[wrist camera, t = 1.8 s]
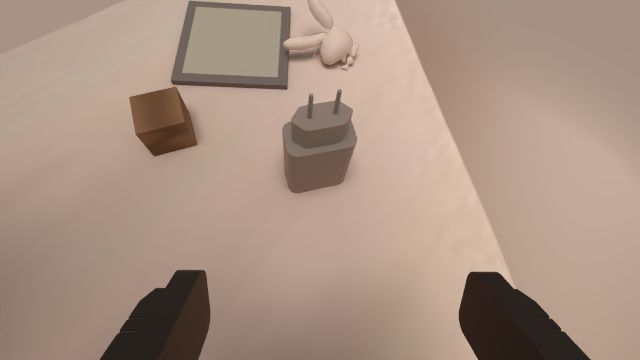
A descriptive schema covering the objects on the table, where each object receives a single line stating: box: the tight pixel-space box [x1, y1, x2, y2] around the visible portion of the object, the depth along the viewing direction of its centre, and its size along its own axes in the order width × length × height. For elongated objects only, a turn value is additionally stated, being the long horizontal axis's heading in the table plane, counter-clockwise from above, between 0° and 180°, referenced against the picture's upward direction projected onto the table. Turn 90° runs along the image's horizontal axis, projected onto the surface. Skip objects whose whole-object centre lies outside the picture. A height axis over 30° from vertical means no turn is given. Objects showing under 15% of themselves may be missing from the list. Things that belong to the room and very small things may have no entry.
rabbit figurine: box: [283, 0, 359, 70], centre depth 35 cm, size 6×4×8 cm
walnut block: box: [129, 87, 197, 156], centre depth 30 cm, size 4×4×4 cm
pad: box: [171, 1, 290, 89], centre depth 36 cm, size 12×12×1 cm
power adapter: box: [282, 89, 357, 193], centre depth 25 cm, size 3×5×12 cm, turn 104°
